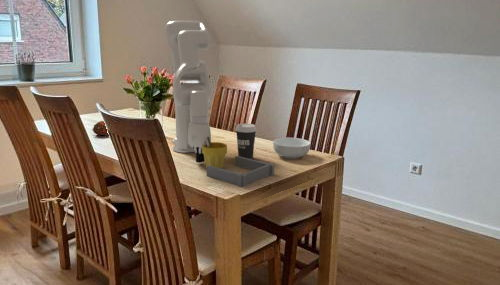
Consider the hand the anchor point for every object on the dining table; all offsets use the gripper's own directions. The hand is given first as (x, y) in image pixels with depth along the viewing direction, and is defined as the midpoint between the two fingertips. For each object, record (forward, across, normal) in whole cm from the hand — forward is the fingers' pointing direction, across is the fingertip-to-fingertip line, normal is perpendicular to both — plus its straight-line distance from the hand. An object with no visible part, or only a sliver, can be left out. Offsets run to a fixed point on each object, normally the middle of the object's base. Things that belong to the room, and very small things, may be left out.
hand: (200, 161), depth 188 cm
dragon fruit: (+1, -76, +1) cm, 76 cm away
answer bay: (+1, +22, 0) cm, 22 cm away
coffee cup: (+1, +9, +20) cm, 22 cm away
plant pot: (+1, +8, 0) cm, 8 cm away
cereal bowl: (+1, +22, +36) cm, 43 cm away
